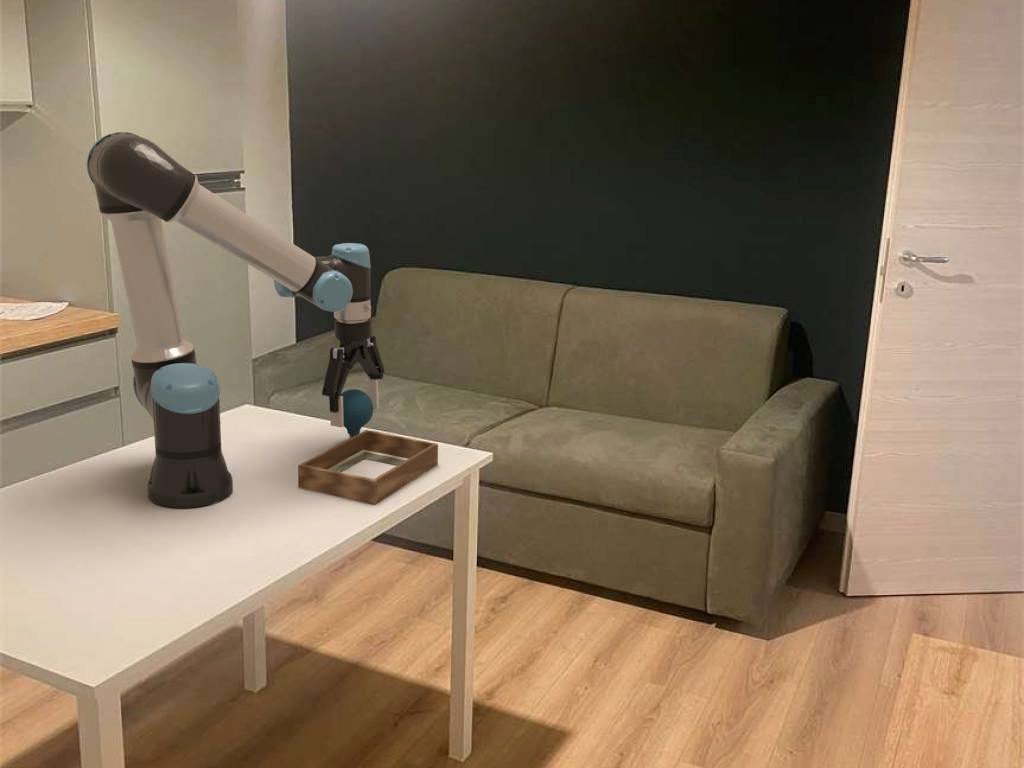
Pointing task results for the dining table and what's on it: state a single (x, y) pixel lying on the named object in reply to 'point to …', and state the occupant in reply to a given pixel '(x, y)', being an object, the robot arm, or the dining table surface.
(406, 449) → the wooden frame
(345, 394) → the teal bulb shape
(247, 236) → the robot arm
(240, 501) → the dining table surface
